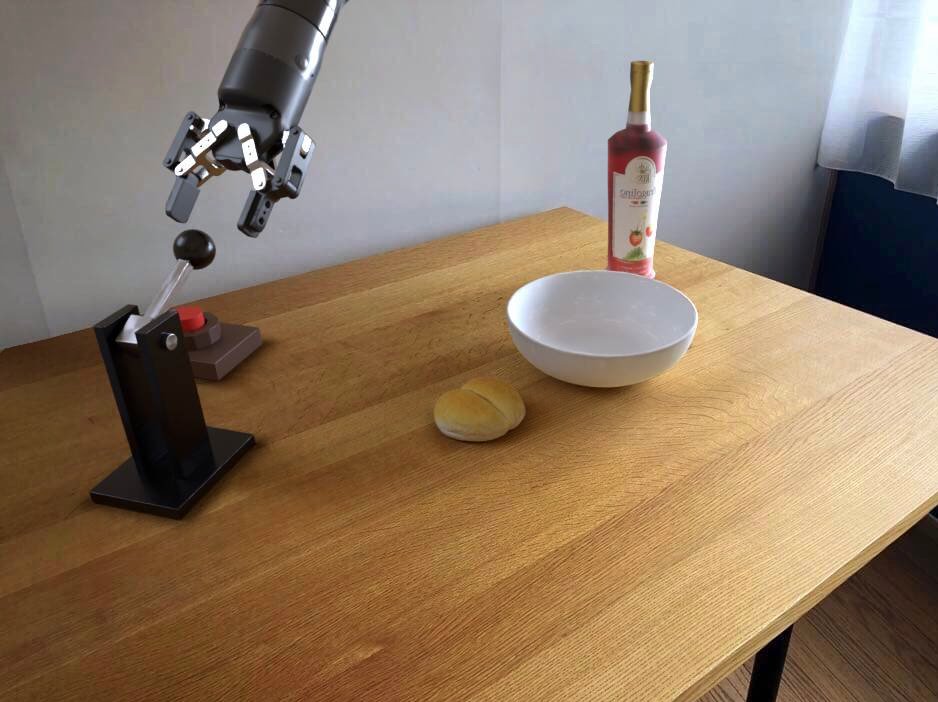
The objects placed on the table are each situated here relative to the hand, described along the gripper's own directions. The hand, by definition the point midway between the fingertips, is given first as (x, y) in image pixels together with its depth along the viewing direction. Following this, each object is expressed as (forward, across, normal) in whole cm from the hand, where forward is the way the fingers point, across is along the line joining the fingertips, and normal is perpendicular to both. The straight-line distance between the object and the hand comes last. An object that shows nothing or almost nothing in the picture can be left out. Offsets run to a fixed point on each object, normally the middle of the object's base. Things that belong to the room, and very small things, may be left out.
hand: (209, 226), depth 78 cm
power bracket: (+22, -2, -6) cm, 23 cm away
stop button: (+7, +14, -16) cm, 22 cm away
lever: (+8, -1, 0) cm, 8 cm away
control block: (+9, +14, -19) cm, 25 cm away
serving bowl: (-4, -29, -32) cm, 43 cm away
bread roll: (+8, -22, -20) cm, 31 cm away
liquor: (-20, -24, -48) cm, 57 cm away
